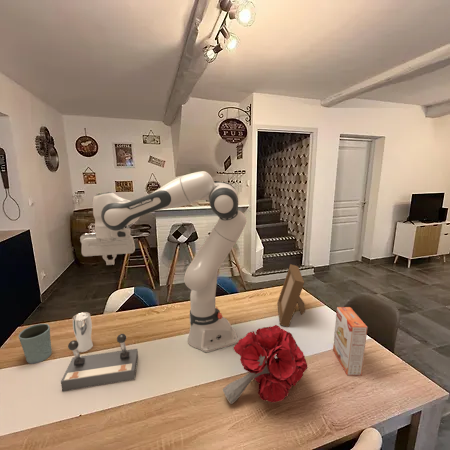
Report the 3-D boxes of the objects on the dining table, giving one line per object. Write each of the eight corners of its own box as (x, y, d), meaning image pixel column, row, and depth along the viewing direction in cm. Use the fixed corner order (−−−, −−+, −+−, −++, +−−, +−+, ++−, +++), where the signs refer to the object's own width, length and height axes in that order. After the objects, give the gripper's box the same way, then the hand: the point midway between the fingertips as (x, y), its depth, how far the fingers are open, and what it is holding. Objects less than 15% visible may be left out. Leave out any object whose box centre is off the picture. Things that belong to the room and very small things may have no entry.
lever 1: (85, 358, 98) (78, 337, 91) (83, 366, 95) (76, 346, 89) (76, 359, 97) (68, 339, 91) (74, 368, 95) (65, 347, 88)
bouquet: (257, 448, 78) (329, 381, 84) (218, 398, 71) (299, 330, 77) (232, 394, 98) (291, 344, 104) (200, 352, 92) (266, 301, 98)
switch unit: (138, 357, 106) (137, 347, 105) (134, 379, 95) (133, 369, 94) (73, 366, 101) (72, 356, 100) (62, 391, 89) (60, 380, 88)
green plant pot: (58, 352, 108) (55, 327, 106) (32, 368, 99) (28, 341, 97) (43, 345, 113) (39, 321, 110) (17, 360, 104) (12, 334, 101)
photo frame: (279, 326, 127) (283, 279, 122) (277, 304, 148) (279, 263, 143) (310, 329, 125) (315, 281, 120) (303, 306, 146) (307, 265, 141)
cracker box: (331, 350, 111) (336, 306, 106) (345, 350, 110) (351, 306, 106) (345, 375, 97) (351, 326, 93) (362, 376, 97) (368, 326, 92)
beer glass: (86, 354, 108) (82, 321, 104) (72, 351, 109) (67, 319, 106) (97, 343, 114) (94, 312, 111) (84, 341, 116) (80, 311, 113)
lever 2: (130, 352, 102) (126, 331, 95) (129, 360, 99) (125, 338, 93) (121, 353, 101) (117, 332, 95) (120, 361, 98) (115, 339, 92)
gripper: (76, 235, 100) (81, 269, 102) (132, 232, 104) (134, 265, 107) (82, 232, 106) (85, 263, 109) (134, 229, 110) (136, 260, 113)
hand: (110, 264), depth 108 cm, fingers closed
